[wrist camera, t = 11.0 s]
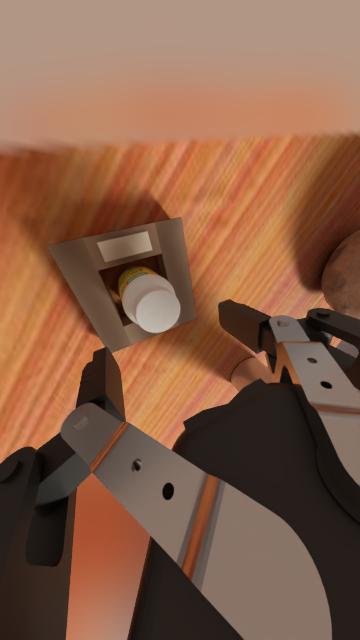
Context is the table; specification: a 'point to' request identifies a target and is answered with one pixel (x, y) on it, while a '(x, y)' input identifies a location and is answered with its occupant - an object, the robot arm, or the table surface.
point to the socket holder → (115, 249)
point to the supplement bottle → (148, 299)
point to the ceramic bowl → (344, 277)
